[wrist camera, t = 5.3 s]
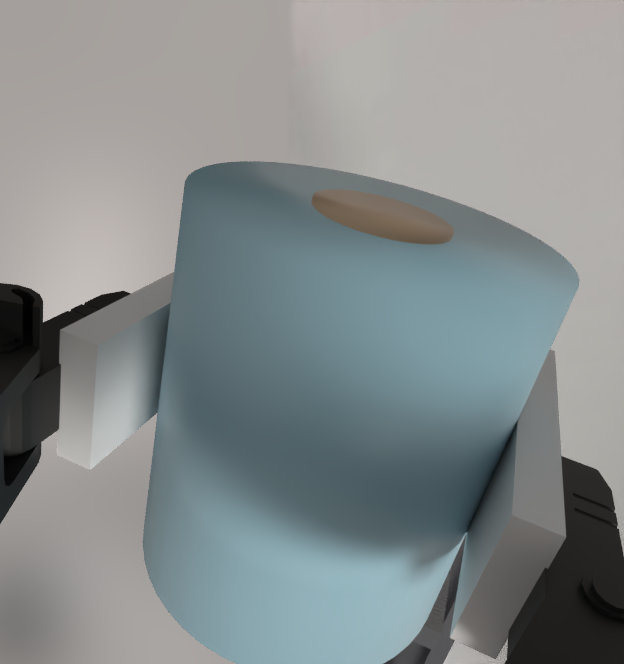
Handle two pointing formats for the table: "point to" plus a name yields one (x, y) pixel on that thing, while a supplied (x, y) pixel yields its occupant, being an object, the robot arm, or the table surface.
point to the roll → (333, 405)
